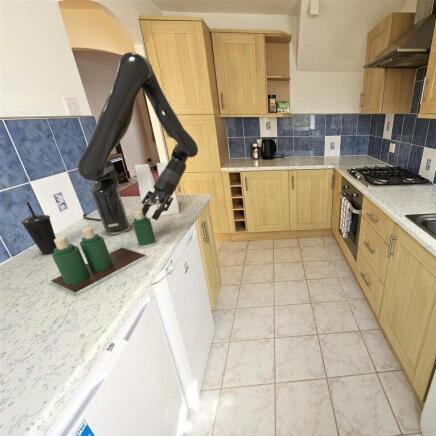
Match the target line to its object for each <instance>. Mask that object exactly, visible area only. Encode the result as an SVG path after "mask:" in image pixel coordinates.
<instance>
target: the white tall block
mask: <svg viewBox="0 0 436 436" xmlns="http://www.w3.org/2000/svg"><path fill="white" fill-rule="evenodd" d="M168 162H169V161H167V162H165V161H164V162H156V168H157V172H158V173H157V174H158V177H159V176H160V174H161V173H162V171H163V170H164V169H165V167H166V165H167V164H168ZM134 168H135V173H136V179H137V184H138V189H139V197H140V199H141V202H142V201H143V199H144V198H145V196H146V194H147V193H148V191H151V192H154V191H155V189H154V187H153V186H154V184H155V183H156V181H155V179H154V176H153V173H152V170H151V167H150V164H149V163H145V164H135V165H134ZM176 189H177V188H176ZM176 189H175V191H174V193H173V195H172V196H171V197H172V198H173V201H172V203H171V204H170V206H169V208H168V210H167V211H164V212H162V213H161V215H160V216H159V217H163V216H168V215H169V216H170V215H175V214H180V203H179V198H178V194H177V190H176ZM146 201H147V199H146ZM146 201H145V202H146ZM149 204H150V203H149ZM143 206H144V205H143V204H142V207H143ZM166 206H167V205H166ZM166 206H165V208H166ZM155 210H157V205H156V204H155V205H152V206H151V207H150V208H149V210H148V212H147V214H146V215H145V216H146V217H147V218H149V219H150V218H151V219H152V216H153V214H154V212H155Z"/></svg>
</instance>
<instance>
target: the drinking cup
mask: <svg viewBox="0 0 436 436" xmlns="http://www.w3.org/2000/svg"><path fill="white" fill-rule="evenodd" d="M26 206H27V208H28V210H29V212H30V214H31V216H28V217H26V218H25V219H23V220H21V221H20V224H21V225H22V226H23V227H24V228H25V230H26V232H27V233H28V234H29V236H30V238H31V239H32V240H33V242H34V243H35V245H36V246H37V248H38V249H39V251H40V252H41V254H42V255H52V253H53V252H54V249H55V248H57V246H56V244H55V242H54V239H56V238H57V237H56V235H55V231H54V228H53V225H52V221H51V216H50V215H48V214H35V212H34V209H33V208H32V205H31V204H30V202H26Z"/></svg>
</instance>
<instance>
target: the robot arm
mask: <svg viewBox="0 0 436 436" xmlns="http://www.w3.org/2000/svg"><path fill="white" fill-rule="evenodd" d="M141 90H142V91H143V93H144V95H145V96H146V98H147V99H148V101H149V103H150V105H151V107H152V109H153V112H154V114H155V116H156V118H157V120H158V122H159V123H160V126H161V127H162V129H163V130H164V132H165V133H166V135H167V136H168V137H169V138H171V139H173V140H174V141H175V142H176V144H175V146H174V147H173V149H172V152H171V155H170V158H169V161H167V162H168V164H167V165H166V167H165V169H164V170H163V171H162V173H161V174H160V176H159V175H158V177H157V179H156V181H155V184H154V186H153V187H154V189H155V191H154V192H151V191H148V193H147V194H146V196H145V198H144V199H143V201H142V200H141V204H142V208H141V210H142V211H143V215H144V216H146V214H147V212H148V210H149V208H150V207H151V206H152V205H155V204H156V205H157V210H155V212H154V214H153V216H152V217H151V219H152V220H155V221H158V220H159V219H160V217H161V216H160V215H161V213H162V212H164V211H167V210H168V208H169V206H170V204H171V203H172V201H173V198H172V197H171V196H172V195H173V193H174V191H175V189H177V187H178V186H179V184H180V182H181V180H182V177H183V175H184V174H185V172H186V170H187V160H188V159H189V158H195V157H196V156H197V155H198V153H199V148H198V145H197V142H196V141H195V140H194V138H193V137H192V136H191V135H190V134H189V133H188V131H186V129H185V128H184V126H183V125H182V123H181V121H180V119H179V117H178V116H177V114H176V113H175V111H174V109H173V107H172V106H171V104H170V102H169V101H168V99H167V97H166V96H165V94H164V92H163V89H162V88H161V85H160V82H159V81H158V79H157V76H156V74H155V71H154V69H153V66H152V64H151V62H150V60H148V59H147V58H146V57H145V56H143V55H141V54H139V53H138V52H133V51H128V52H125V53H123V55H122V56H121V57H120V59H119V61H118V65H117V70H116V73H115V77H114V81H113V83H112V87H111V89H110V91H109V92H108V95H107V96H106V99H105V102H104V104H103V106H102V108H101V111H100V113H99V116H98V118H97V121H96V124H95V126H94V129H93V132H92V135H91V137H90V139H89V143H88V145H87V146H86V148H85V149H84V152H83V153H82V155H81V157H80V159H79V160H78V163H77V172H78V173H79V175H80V176H81V177H82V178H83V179H84V180H87V181H93V185H92V187H91V189H90V193H91V196H92V199H93V201H94V204H95V207H96V210H97V213H98V215H99V218H93V217H87V216H86V213H85V214H84V213H83V214H84V215H83V214H82V217H83V218H84V219H86V220H91V221H100V222H101V224H102V226H103V229H104V233H105V235H108V236H115V235H116V236H117V235H121V234H124V233H126V232H128V231H130V230H131V225H130V222H129V219H128V216H127V213H126V210H125V206H124V203H123V200H122V197H121V194H120V191H119V180H118V176H117V172H116V169H115V166H114V163H113V162H112V160H111V159H110V156H111V154H112V152H113V151H114V150H115V148H116V147H117V146H118V145H119V143H121V141H122V140H123V139H124V138H125V136H126V134H127V132H128V130H129V128H130V126H131V123H132V120H133V117H134V109H135V103H136V99H137V96H138V94H139V92H140V91H141ZM146 199H147V201H146ZM145 201H146V202H145ZM149 203H150V204H149ZM143 205H144V206H143ZM166 205H167V206H166ZM165 206H166V208H165Z"/></svg>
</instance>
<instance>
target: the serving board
mask: <svg viewBox="0 0 436 436" xmlns="http://www.w3.org/2000/svg"><path fill="white" fill-rule="evenodd" d="M109 255H110V257H111V260H112V263H113V264H112V266H111V267H109V268H108V269H106V270H103V271H99V272H92V271H91V270H90V267H89V265H88V262H87V263H85V264H86V267H87V269H88V271H89V274H90V276H89V277H88V278H87V279H86V280H84V281H82V282H80V283H77V284H73V285H67V284H65V282H64V279H63V277H62V275H61V274H60V276H59V275H58V277H55V278H53V279H50V281H51V282H53V283H54V284H57V285H59V286H60V287H63V288H64V289H67V290H68V291H70V292H73V293H74V294H75V293H76V294H77V293H78V292H80V291H82V290H84V289H85V288H87V287H89V286H91V285H93V284H95V283H97V282H98V281H101V280H102V279H104V278H106V277H108V276H110V275H112V274H114V273H116V272H117V271H119V270H121V269H123V268H125V267H126V266H129V265H130V264H132V263H134V262H136V261H138V260H139V259H142V258H144V257H145V256H146V254H144V253H141V252H137V251H134V250H131V249H128V248H125V247H119V248H117V249H115V250H113V251H111V252H109Z"/></svg>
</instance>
